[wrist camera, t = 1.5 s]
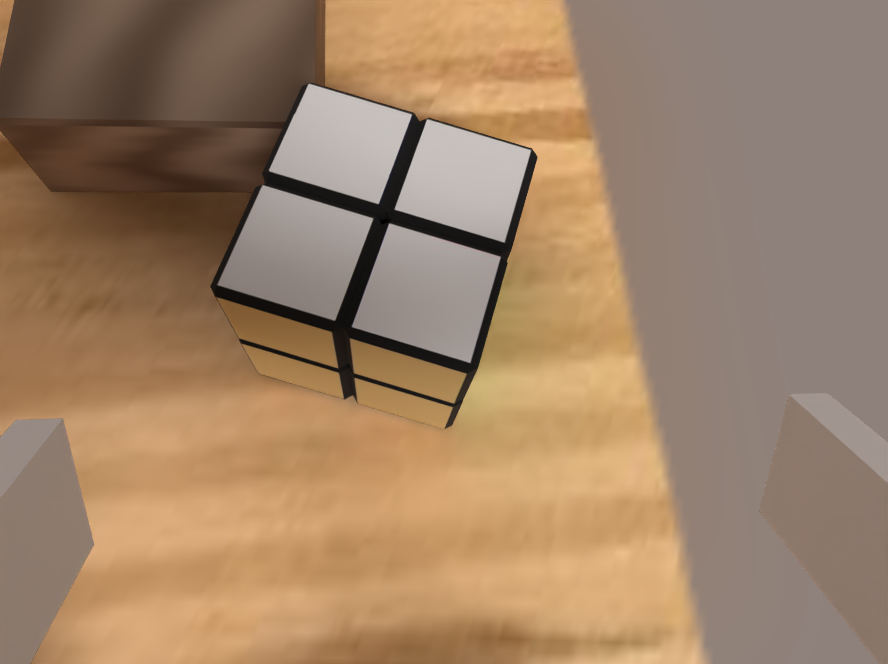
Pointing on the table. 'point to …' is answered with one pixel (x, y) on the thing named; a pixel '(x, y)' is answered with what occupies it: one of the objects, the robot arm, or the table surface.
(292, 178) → the puzzle cube
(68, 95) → the walnut stand
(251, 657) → the table surface
